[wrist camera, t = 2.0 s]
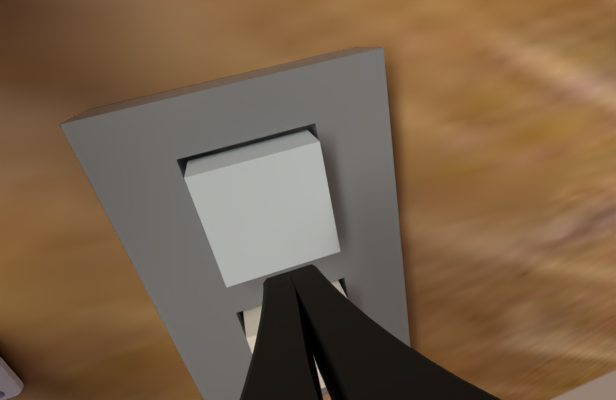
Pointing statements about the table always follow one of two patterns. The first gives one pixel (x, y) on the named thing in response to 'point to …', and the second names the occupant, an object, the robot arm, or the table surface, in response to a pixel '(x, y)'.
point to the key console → (229, 135)
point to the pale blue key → (264, 206)
